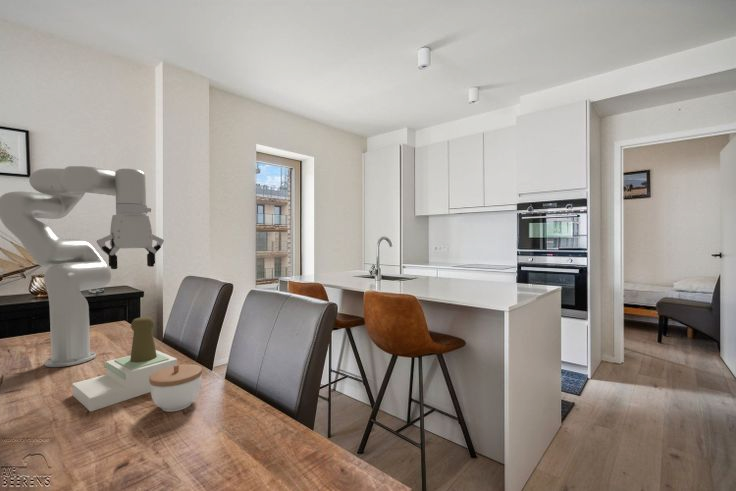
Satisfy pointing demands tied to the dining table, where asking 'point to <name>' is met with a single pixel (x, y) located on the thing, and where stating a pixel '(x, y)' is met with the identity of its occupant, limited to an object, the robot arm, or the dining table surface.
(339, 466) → the dining table surface
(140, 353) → the cork
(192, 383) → the lidded jar
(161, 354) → the platform
